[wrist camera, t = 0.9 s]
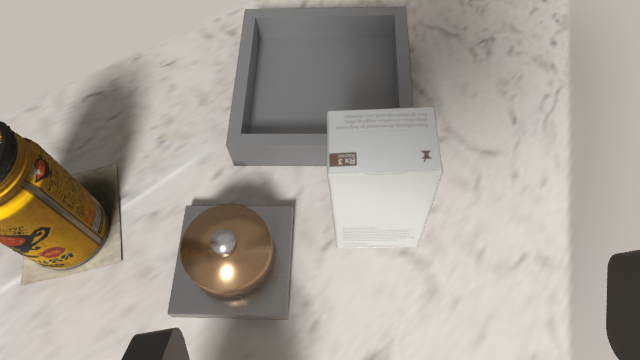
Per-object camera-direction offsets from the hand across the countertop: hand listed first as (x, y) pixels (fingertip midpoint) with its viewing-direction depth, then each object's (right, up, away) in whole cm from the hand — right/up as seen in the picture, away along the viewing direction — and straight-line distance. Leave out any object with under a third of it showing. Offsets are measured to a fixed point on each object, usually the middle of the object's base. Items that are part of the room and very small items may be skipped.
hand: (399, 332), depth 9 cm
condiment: (-20, -1, +29) cm, 35 cm away
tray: (-1, +10, +33) cm, 35 cm away
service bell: (-8, -3, +26) cm, 28 cm away
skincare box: (+3, -1, +27) cm, 28 cm away
